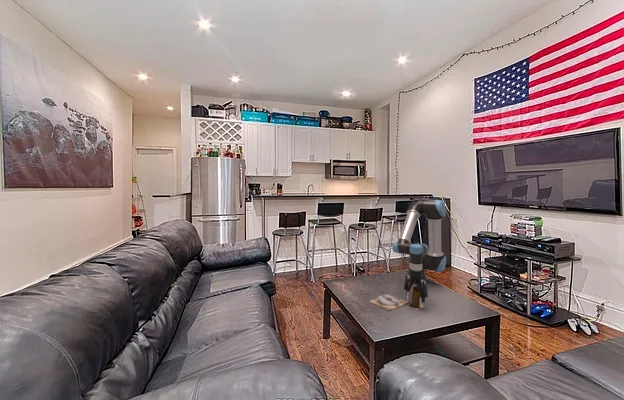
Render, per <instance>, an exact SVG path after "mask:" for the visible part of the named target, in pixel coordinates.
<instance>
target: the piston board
mask: <svg viewBox="0 0 624 400" xmlns="http://www.w3.org/2000/svg"><path fill="white" fill-rule="evenodd" d="M369 303H371V304H373V305H375V306H377V307H379V308H381V309H384V310H385V311H387V312H391V311H394V310H397V309H398V308H401V307H405V306H407V305H409V302H407V300H404V299H401V298H400V297H399V296H396V295H392V294H390V293H389V294H382V295H379V296H378V297H377V298H374V299H371V300H369Z"/></svg>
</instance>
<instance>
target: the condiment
mask: <svg viewBox="0 0 624 400" xmlns="http://www.w3.org/2000/svg"><path fill="white" fill-rule="evenodd" d="M420 297H421V295H420V292H419V289H418V287H417V285H416V286H415V285H414V286H412V290H411V303H410V304H407V305H406V306H407V307H408V308H410V309H414V310H415V311H418V310H421V309H423V308H425V307H426V306H425V305H423V307H422V308H420Z"/></svg>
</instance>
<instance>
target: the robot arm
mask: <svg viewBox="0 0 624 400" xmlns="http://www.w3.org/2000/svg"><path fill="white" fill-rule="evenodd" d="M446 212H447V207H446V204H445V202H444V200H443V199H442V200H440V199H424V198H422V199H418V200H416V201H414V202H413V203H411V205H409V207H408V209H407V211H406V218H405V221H404V224H403V226H402V229H401V232H400V235H399V236H398V237H399V238H398V240H397V241H393V243H392V252H393V253H395V254H399V255H401V254H402V255H408V272H407V274H406V275H405V281H404V284H403V290H405V292H406V294H405V295H406V302H408V303H410V302H412V290H411V289H412V288H413V285H414V284H415V285H416V286H417V287H418V289H419V292H420V295H421V297H420V308H421V309H423V308H424V307H423V306H424V305H425V304H424V303H425V302H426V301H425V300H426V299H425V298H428V288H427V281H428V278H427V275H426V272H425V271H426V270H429V271H433V272H440V273H441V272H443V271H444V270H445V268H446V264H447V256H445V254H444V252H443V251H442V220H443V219H444V217H446V215H447V213H446ZM421 216H425V219H426V220H427V221H428V222H427V224H428V228H427V229H428V245H427V244H426V243H411V240H412V236H413V233H414V230H415V227H416V224H417V222H418V220H419V219H420V217H421ZM422 307H423V308H422Z"/></svg>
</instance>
